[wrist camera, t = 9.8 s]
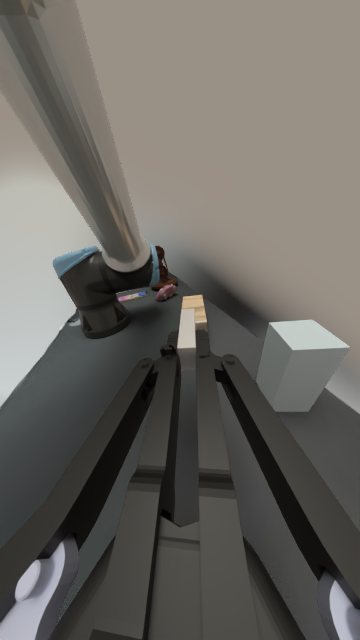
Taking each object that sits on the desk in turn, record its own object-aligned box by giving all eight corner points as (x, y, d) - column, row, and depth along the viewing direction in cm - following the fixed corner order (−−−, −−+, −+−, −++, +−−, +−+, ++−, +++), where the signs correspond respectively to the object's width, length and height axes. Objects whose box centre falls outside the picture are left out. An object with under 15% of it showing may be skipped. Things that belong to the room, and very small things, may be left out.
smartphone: (117, 298, 72) (117, 296, 71) (147, 292, 75) (146, 290, 74) (117, 304, 66) (116, 302, 65) (148, 296, 69) (148, 294, 68)
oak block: (206, 322, 31) (201, 294, 45) (180, 324, 32) (183, 296, 46) (207, 342, 34) (202, 311, 48) (183, 344, 35) (185, 313, 49)
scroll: (180, 288, 72) (174, 244, 61) (151, 293, 70) (140, 249, 60) (175, 280, 84) (169, 243, 74) (151, 285, 83) (141, 247, 73)
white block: (308, 412, 19) (350, 347, 13) (269, 411, 20) (292, 350, 14) (287, 379, 24) (312, 319, 18) (256, 380, 24) (269, 322, 18)
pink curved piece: (160, 305, 60) (162, 293, 55) (153, 299, 62) (155, 286, 57) (176, 297, 66) (179, 285, 61) (170, 291, 68) (172, 279, 62)
